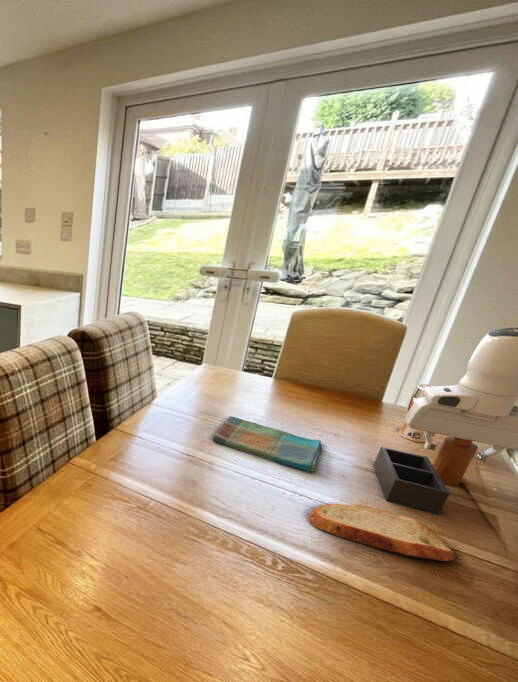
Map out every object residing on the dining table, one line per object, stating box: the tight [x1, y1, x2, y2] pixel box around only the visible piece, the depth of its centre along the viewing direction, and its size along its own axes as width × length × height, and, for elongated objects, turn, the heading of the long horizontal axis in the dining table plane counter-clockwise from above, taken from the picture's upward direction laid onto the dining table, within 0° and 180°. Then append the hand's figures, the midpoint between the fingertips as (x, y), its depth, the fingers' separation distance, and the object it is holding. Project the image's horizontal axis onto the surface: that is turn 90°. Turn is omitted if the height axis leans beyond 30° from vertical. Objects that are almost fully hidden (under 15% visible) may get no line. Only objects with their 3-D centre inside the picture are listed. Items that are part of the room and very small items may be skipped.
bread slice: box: [307, 503, 455, 562], centre depth 76 cm, size 18×18×4 cm
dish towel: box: [212, 415, 323, 473], centre depth 108 cm, size 17×23×2 cm
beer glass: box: [398, 384, 434, 443], centre depth 110 cm, size 7×7×15 cm
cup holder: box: [372, 446, 450, 516], centre depth 90 cm, size 8×16×6 cm, turn 147°
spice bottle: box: [431, 436, 479, 487], centre depth 92 cm, size 5×5×13 cm
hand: (454, 454), depth 92 cm, fingers open, 7 cm apart
